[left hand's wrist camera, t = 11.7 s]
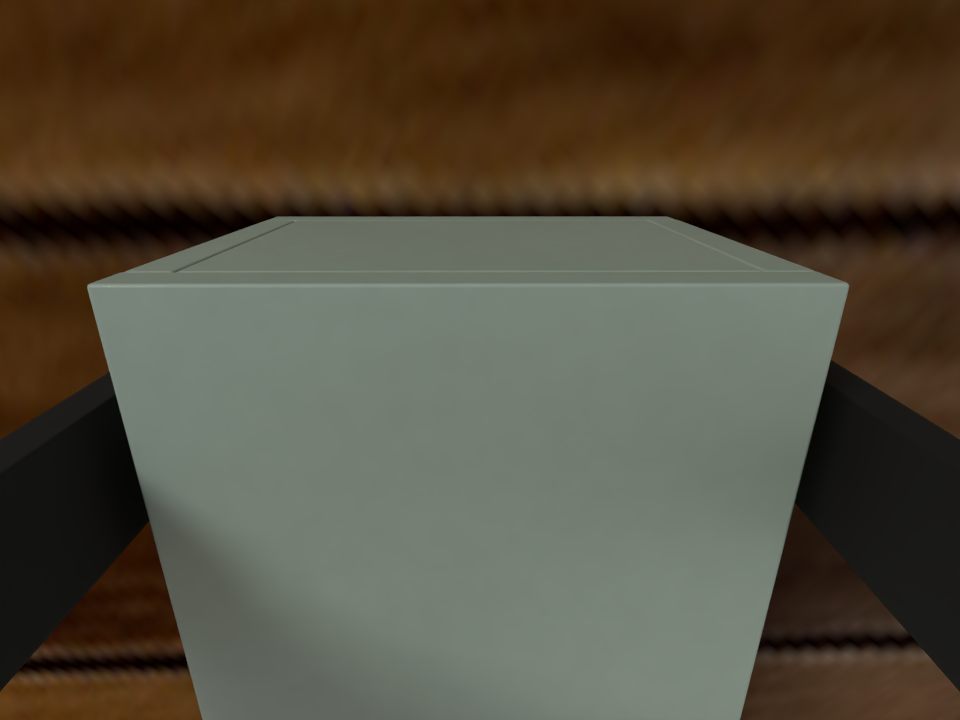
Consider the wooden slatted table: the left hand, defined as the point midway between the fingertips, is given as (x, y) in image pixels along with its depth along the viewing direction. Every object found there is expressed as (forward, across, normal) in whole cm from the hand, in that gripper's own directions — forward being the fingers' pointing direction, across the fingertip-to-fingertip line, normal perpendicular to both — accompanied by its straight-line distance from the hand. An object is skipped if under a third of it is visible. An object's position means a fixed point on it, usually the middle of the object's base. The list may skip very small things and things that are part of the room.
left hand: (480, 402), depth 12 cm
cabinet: (+4, 0, -5) cm, 7 cm away
